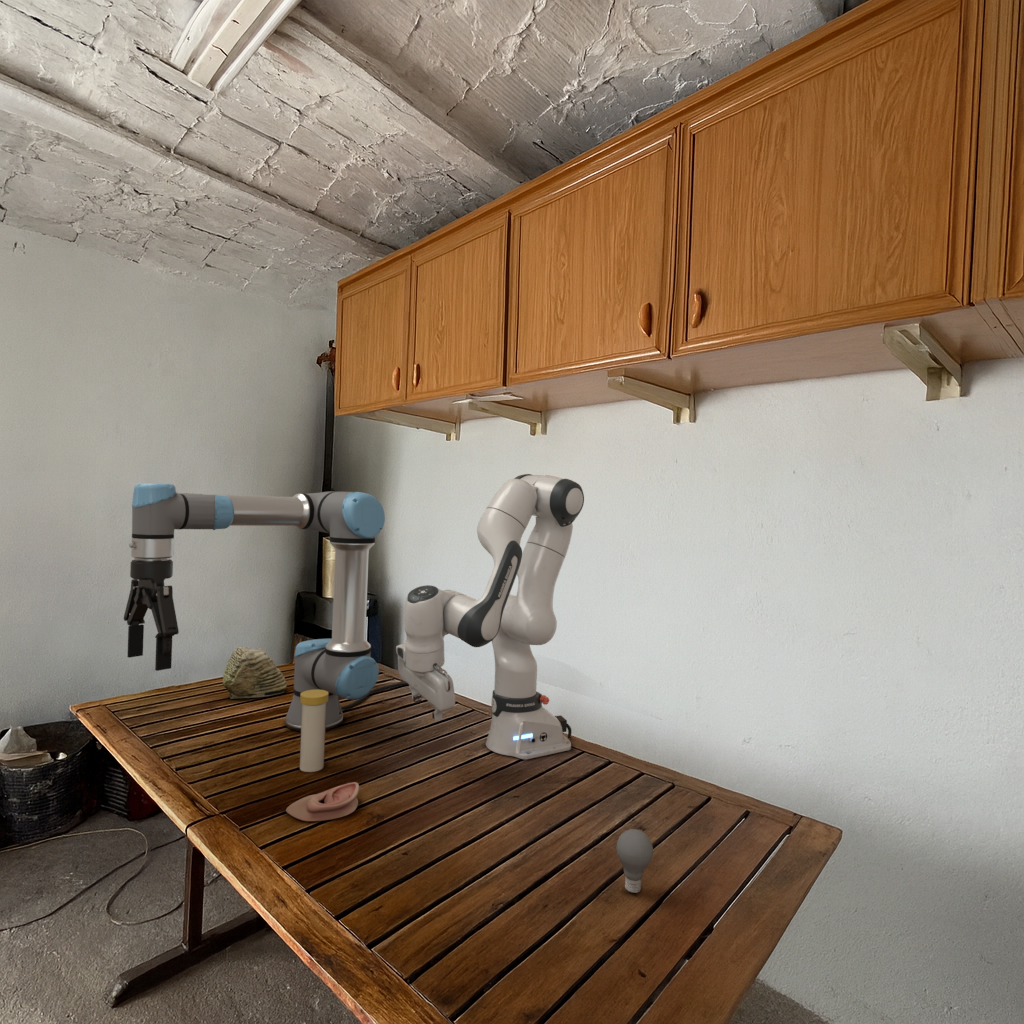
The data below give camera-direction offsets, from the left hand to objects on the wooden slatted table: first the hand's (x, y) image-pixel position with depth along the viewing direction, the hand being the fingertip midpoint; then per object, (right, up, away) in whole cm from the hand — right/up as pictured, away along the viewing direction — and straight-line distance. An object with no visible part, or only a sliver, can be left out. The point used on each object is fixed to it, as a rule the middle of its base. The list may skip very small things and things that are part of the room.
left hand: (148, 662), depth 129 cm
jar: (+27, -29, +19) cm, 44 cm away
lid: (+28, -12, +18) cm, 36 cm away
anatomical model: (+36, -30, -1) cm, 46 cm away
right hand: (+54, -16, +19) cm, 60 cm away
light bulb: (+94, -33, -24) cm, 103 cm away
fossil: (-6, -27, +69) cm, 74 cm away
